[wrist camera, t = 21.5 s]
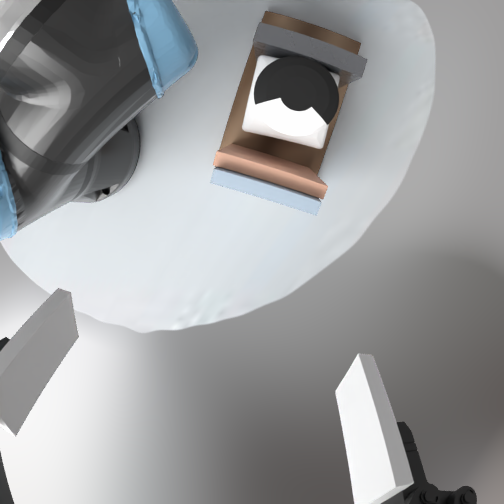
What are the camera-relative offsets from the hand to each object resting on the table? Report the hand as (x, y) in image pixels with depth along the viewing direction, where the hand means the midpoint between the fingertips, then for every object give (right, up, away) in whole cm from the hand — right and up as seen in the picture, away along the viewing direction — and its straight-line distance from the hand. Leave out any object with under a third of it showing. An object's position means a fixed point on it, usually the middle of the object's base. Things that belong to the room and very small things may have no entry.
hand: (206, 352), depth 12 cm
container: (+6, +21, +19) cm, 29 cm away
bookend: (+8, +26, +17) cm, 31 cm away
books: (+4, +15, +22) cm, 26 cm away
